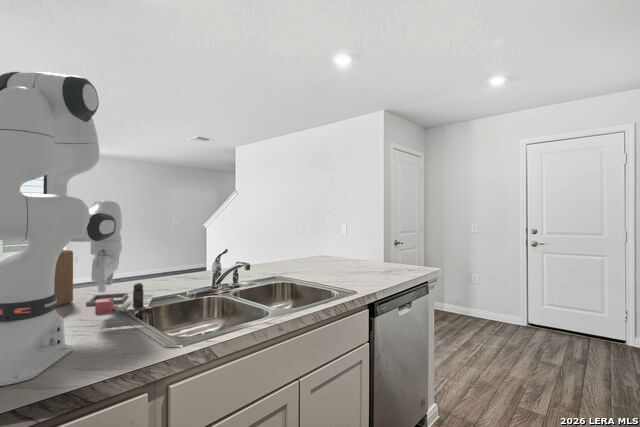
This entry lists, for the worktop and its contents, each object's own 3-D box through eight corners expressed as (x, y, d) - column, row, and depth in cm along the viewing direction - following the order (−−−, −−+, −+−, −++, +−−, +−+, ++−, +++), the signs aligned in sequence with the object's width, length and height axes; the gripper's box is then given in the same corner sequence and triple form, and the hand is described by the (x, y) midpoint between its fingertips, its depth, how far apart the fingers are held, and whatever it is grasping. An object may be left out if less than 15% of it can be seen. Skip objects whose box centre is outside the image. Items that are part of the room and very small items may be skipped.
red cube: (110, 314, 111) (110, 301, 111) (95, 315, 110) (95, 302, 110) (113, 310, 116) (113, 298, 116) (98, 312, 114) (98, 299, 114)
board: (148, 309, 116) (148, 307, 116) (125, 311, 114) (125, 309, 114) (155, 296, 135) (155, 294, 135) (135, 297, 133) (135, 295, 133)
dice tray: (121, 305, 122) (122, 299, 122) (86, 308, 118) (86, 302, 118) (127, 297, 132) (127, 292, 132) (95, 300, 128) (95, 295, 128)
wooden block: (47, 310, 115) (47, 253, 115) (24, 308, 117) (25, 252, 117) (74, 302, 125) (74, 250, 125) (52, 300, 127) (52, 249, 127)
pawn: (142, 307, 116) (142, 283, 116) (132, 308, 115) (132, 284, 115) (143, 305, 119) (144, 281, 119) (133, 306, 118) (134, 282, 118)
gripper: (109, 252, 104) (108, 295, 105) (122, 244, 124) (122, 280, 124) (85, 253, 102) (85, 297, 103) (103, 244, 121) (102, 281, 122)
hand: (105, 288), depth 113 cm, fingers open, 8 cm apart
